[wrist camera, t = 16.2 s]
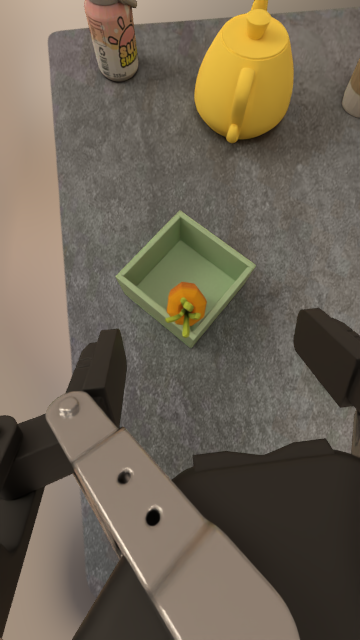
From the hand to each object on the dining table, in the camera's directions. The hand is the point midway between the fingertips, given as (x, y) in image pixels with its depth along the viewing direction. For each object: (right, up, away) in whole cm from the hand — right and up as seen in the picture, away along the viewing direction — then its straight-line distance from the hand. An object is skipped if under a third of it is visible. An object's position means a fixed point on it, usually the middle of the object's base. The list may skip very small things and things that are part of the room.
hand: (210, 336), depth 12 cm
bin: (-1, +6, +30) cm, 31 cm away
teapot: (+10, +43, +40) cm, 60 cm away
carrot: (-1, +6, +29) cm, 30 cm away
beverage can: (-14, +53, +43) cm, 70 cm away
